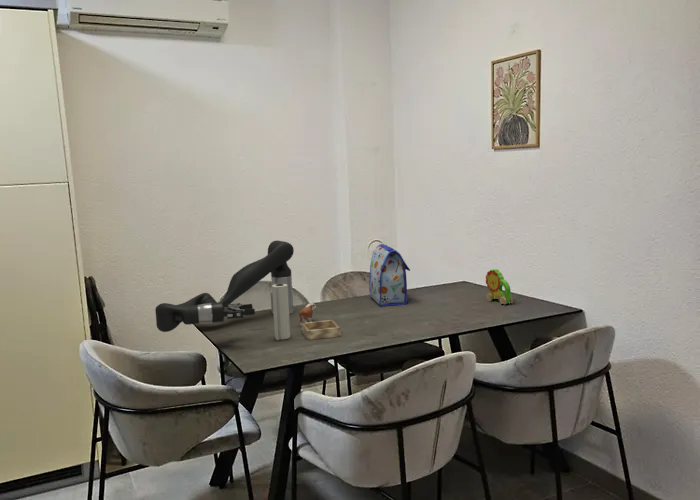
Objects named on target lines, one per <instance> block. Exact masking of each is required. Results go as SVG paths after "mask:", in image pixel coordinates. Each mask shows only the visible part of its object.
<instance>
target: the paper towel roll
mask: <svg viewBox="0 0 700 500" xmlns="http://www.w3.org/2000/svg"><path fill="white" fill-rule="evenodd" d="M271 293H272V295H273V312H274V314H273V324H274V339H275V340H276V341H278V342H279V341H280V340H287V339H290V337H291V325H290V314H289V305H288V287H287V284H275V285H272V284H271Z"/></svg>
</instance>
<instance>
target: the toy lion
mask: <svg viewBox="0 0 700 500" xmlns="http://www.w3.org/2000/svg"><path fill="white" fill-rule="evenodd" d="M485 284H486V287H487V288H488V290H489V293H488V292H487V294H486V297H485V298H486V300H487V299H490V300H492V299H498V300H499V304H500V303H503V304H505V305H506V304H508V303H509V302H512V303H513V302H514V299H513V296H512V295H511V286H510V283H509V282H508V280H505V279H504V275H503V274H502V272H501V271H500V270H499V269H490V270H489V271H487V273H486V275H485ZM503 288H504V290H503ZM492 301H493V300H492Z"/></svg>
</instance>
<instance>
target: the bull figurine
mask: <svg viewBox="0 0 700 500" xmlns="http://www.w3.org/2000/svg"><path fill="white" fill-rule="evenodd" d="M314 309H317V306H316V303H314V302H312V301H310V302H308V303H307V305H306V306H304V307H303V308H302V309H301V310H300V312H299V313H298V314H299V323H300V324H299V326H300V327H302V324H301V323H303V322H304V323H308V322H313V321H312V316H313V313H314V312H313V310H314ZM308 318H309V321H308Z"/></svg>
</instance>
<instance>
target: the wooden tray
mask: <svg viewBox="0 0 700 500" xmlns="http://www.w3.org/2000/svg"><path fill="white" fill-rule="evenodd" d="M301 324H302V326H301V333H302V334H303V335H304V337H305V338H306V339H307V341H312V340H320V339H329V338H338V337H339V338H340V337H341V327H340V326H339V325H338V323H336V322H335V321H334V319H328V320H327V319H326V320H318V321H312V322H309V321H308V323H307V322H306V323H305V322H302V323H301Z"/></svg>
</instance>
